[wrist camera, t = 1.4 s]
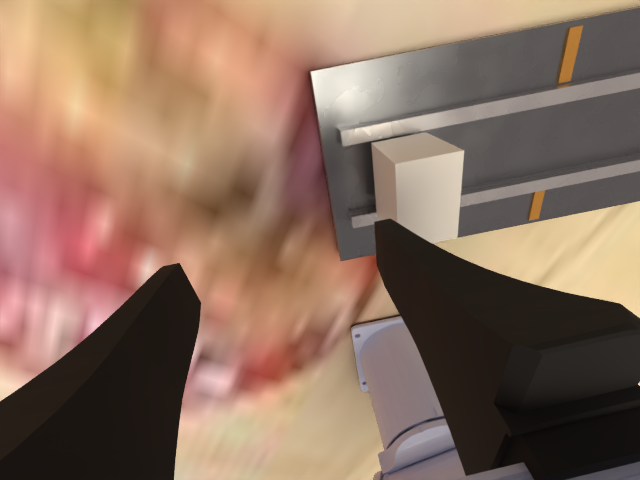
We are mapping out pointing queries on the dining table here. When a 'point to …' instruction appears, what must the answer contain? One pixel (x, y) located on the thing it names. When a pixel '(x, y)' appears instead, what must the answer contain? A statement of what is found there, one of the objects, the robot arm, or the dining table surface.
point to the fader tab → (419, 184)
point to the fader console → (493, 123)
